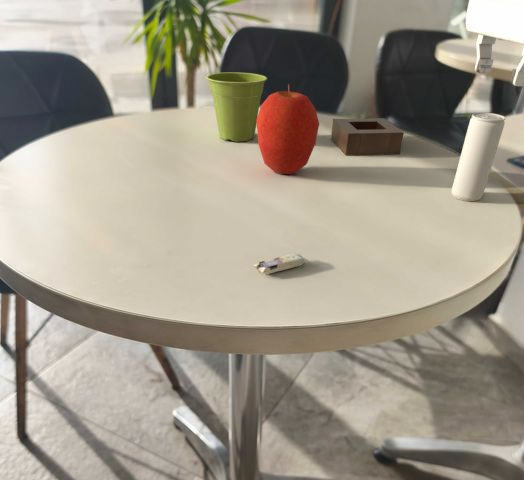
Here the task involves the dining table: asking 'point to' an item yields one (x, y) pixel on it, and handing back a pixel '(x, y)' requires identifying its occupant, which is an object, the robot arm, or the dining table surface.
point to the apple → (287, 131)
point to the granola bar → (280, 263)
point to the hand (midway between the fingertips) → (498, 78)
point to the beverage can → (477, 156)
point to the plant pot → (236, 103)
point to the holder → (366, 136)
